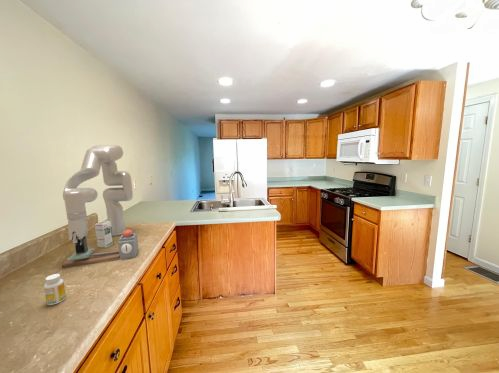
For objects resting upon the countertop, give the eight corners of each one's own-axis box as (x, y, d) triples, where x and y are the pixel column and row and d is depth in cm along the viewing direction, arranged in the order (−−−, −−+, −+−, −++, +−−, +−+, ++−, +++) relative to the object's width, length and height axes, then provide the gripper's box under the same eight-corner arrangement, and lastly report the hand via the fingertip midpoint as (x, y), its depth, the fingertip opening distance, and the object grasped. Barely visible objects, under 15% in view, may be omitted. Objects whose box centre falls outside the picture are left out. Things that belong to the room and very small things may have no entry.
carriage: (77, 252, 112) (75, 237, 110) (93, 250, 114) (91, 235, 112) (70, 259, 104) (68, 243, 103) (87, 257, 106) (85, 241, 105)
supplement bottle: (48, 307, 76) (43, 282, 74) (45, 301, 79) (41, 277, 78) (67, 299, 80) (63, 275, 78) (64, 294, 83) (60, 271, 82)
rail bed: (71, 258, 112) (70, 253, 111) (123, 251, 119) (123, 246, 119) (61, 268, 102) (61, 263, 102) (119, 259, 110) (118, 254, 110)
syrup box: (106, 247, 124) (103, 223, 122) (97, 247, 126) (94, 223, 123) (114, 243, 130) (111, 220, 128) (105, 243, 131) (102, 220, 129)
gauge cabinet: (124, 251, 119) (122, 233, 118) (138, 249, 122) (136, 232, 120) (119, 260, 109) (117, 241, 108) (135, 257, 112) (133, 239, 110)
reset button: (124, 234, 116) (123, 230, 115) (133, 233, 117) (132, 229, 117) (122, 237, 112) (121, 233, 111) (131, 236, 113) (131, 231, 113)
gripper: (75, 212, 112) (80, 245, 115) (59, 221, 97) (65, 259, 100) (92, 210, 115) (96, 243, 117) (78, 219, 99) (84, 256, 102)
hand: (82, 250), depth 108 cm, fingers closed on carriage, 3 cm apart
